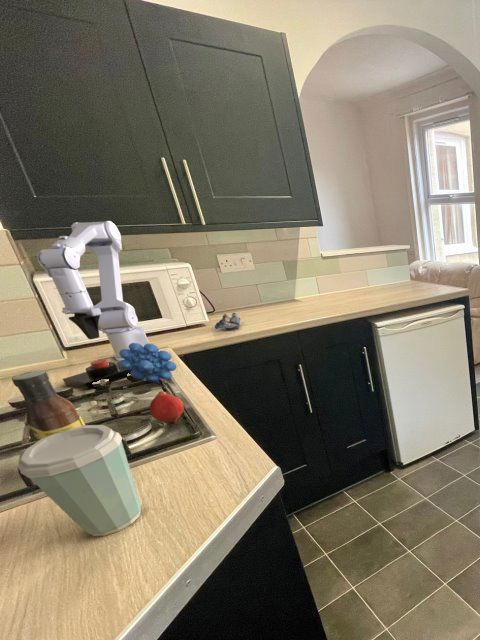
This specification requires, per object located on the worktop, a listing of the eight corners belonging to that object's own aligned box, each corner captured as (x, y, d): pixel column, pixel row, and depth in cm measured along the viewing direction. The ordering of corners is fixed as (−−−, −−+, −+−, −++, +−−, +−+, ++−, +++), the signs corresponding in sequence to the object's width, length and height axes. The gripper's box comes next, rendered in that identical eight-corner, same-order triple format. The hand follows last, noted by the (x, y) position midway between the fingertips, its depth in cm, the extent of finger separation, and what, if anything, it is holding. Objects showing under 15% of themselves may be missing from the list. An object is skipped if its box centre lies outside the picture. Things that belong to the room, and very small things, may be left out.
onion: (152, 430, 92) (137, 398, 89) (164, 419, 97) (150, 387, 94) (182, 426, 93) (168, 394, 90) (192, 414, 98) (180, 383, 95)
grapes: (125, 392, 112) (106, 350, 107) (132, 384, 118) (114, 343, 113) (178, 383, 117) (161, 342, 112) (182, 375, 123) (167, 335, 118)
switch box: (122, 368, 130) (117, 356, 129) (144, 371, 127) (139, 359, 125) (66, 386, 119) (59, 373, 117) (89, 390, 115) (82, 377, 113)
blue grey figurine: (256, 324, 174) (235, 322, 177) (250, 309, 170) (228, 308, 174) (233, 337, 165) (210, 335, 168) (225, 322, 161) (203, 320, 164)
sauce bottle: (72, 465, 80) (18, 369, 72) (112, 457, 82) (63, 363, 74) (52, 484, 75) (-9, 383, 67) (95, 476, 77) (41, 376, 69)
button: (104, 364, 123) (102, 358, 123) (112, 365, 122) (109, 359, 121) (90, 368, 120) (87, 363, 120) (97, 370, 119) (94, 364, 118)
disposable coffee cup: (163, 519, 65) (122, 436, 59) (68, 562, 58) (10, 472, 52) (149, 492, 72) (111, 414, 66) (62, 527, 64) (10, 444, 58)
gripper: (41, 294, 119) (63, 340, 124) (70, 295, 114) (92, 343, 119) (72, 290, 125) (92, 334, 130) (101, 290, 120) (120, 336, 125)
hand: (94, 338), depth 125 cm, fingers closed
